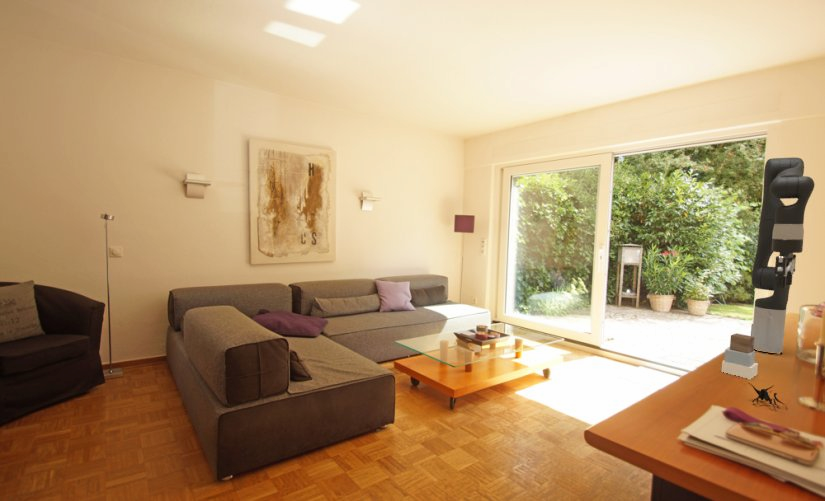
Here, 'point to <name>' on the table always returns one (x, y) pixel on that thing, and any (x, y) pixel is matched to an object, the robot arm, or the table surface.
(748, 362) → the grey rectangular block
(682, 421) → the table surface
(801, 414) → the table surface
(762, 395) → the creature
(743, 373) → the base block
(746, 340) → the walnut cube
